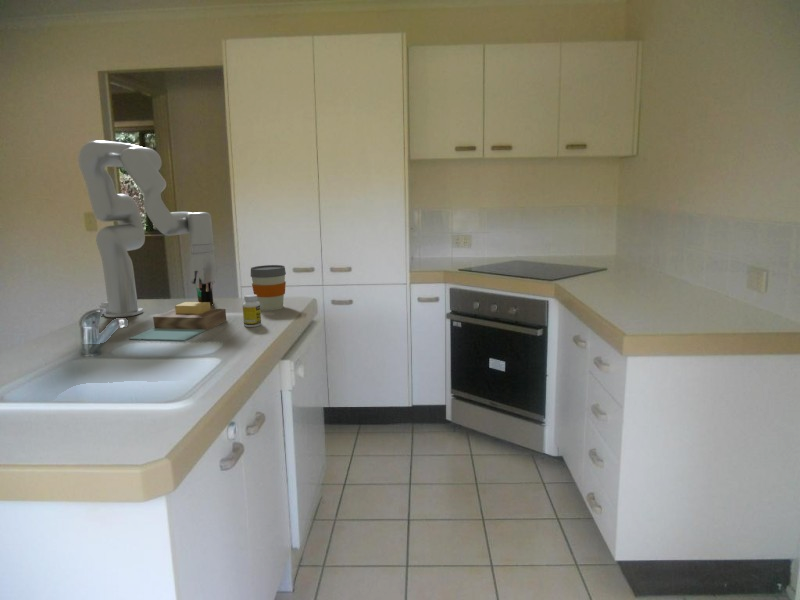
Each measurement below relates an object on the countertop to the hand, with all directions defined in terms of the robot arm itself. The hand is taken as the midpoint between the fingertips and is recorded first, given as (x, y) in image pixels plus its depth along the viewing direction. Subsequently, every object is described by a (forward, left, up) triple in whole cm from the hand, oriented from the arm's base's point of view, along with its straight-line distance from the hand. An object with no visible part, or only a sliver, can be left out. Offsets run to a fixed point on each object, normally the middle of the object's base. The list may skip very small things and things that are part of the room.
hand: (207, 302), depth 194 cm
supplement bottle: (+21, -10, -5) cm, 24 cm away
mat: (0, -24, -5) cm, 25 cm away
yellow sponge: (0, -9, -1) cm, 9 cm away
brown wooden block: (0, -11, -5) cm, 12 cm away
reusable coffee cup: (+16, +16, -5) cm, 23 cm away
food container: (-14, +22, -5) cm, 26 cm away
